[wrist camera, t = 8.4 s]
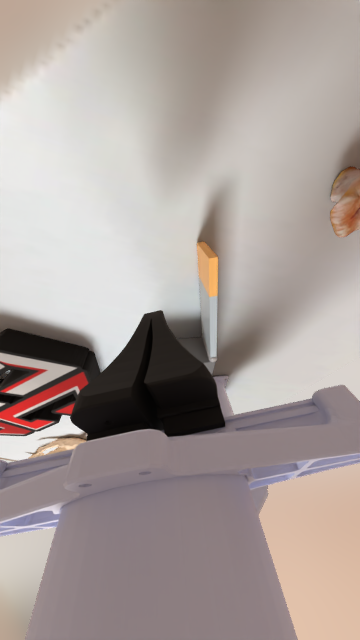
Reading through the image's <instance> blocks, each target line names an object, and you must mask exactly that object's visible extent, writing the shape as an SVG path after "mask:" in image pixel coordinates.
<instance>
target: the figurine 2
mask: <svg viewBox="0 0 360 640" xmlns="http://www.w3.org/2000/svg"><path fill="white" fill-rule="evenodd" d="M330 197H331V200H332V201H333V202H337V204H336V205H335V206H334V207H333V209H332V210H331V213H330V220H331V223H332V226H333V229H334V232H335V234H336V235H337V236H338V237H346V236H347V235H349V234H350V233H352V232H353V231H355V230H360V169H357V168H355V167H348V168H347V169H345V170H343V171H342V172H341V173H340V174H339V176H338V177H337V178H336V180H335V181H334V184H333V189H332V192H331V196H330Z"/></svg>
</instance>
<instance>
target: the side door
mask: <svg viewBox="0 0 360 640" xmlns="http://www.w3.org/2000/svg"><path fill="white" fill-rule="evenodd" d="M197 253H198V270H199V287H200V305H201V322H202V334H201V336H202V339H203V342H204V345H205V348H206V351H207V354H208V357H209V360H210V362H215V361H217V359H218V358H217V356H216V355H217V294H218V256H217V255H216V254H215V253H214V252H213V251H212V250H211V249H210V247H209V246H208V245H207V244H206V243H205V242H199V243H197Z"/></svg>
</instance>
